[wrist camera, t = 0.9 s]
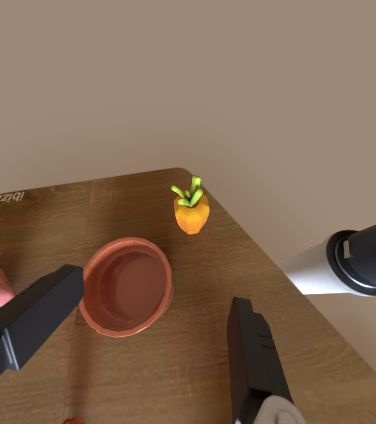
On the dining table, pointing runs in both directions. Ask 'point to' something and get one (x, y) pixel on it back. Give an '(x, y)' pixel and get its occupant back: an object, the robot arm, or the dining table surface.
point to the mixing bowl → (126, 287)
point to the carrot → (191, 207)
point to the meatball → (73, 421)
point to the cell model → (5, 289)
